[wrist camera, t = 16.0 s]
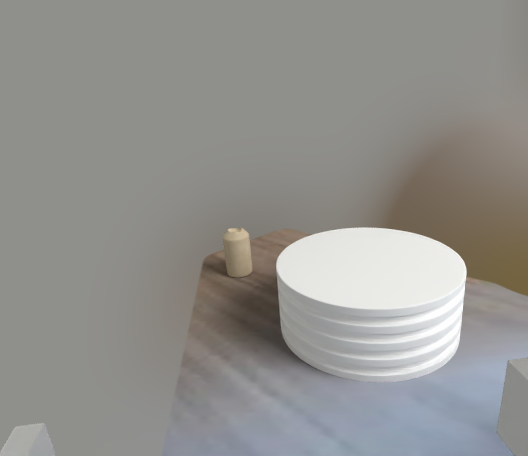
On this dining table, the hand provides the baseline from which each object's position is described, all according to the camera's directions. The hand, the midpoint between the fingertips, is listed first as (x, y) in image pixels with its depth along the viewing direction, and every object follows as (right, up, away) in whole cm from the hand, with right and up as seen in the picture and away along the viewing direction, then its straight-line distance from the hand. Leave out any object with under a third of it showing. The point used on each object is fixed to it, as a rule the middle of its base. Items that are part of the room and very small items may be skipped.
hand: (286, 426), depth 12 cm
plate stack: (+16, -10, +56) cm, 59 cm away
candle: (-6, -4, +77) cm, 77 cm away
